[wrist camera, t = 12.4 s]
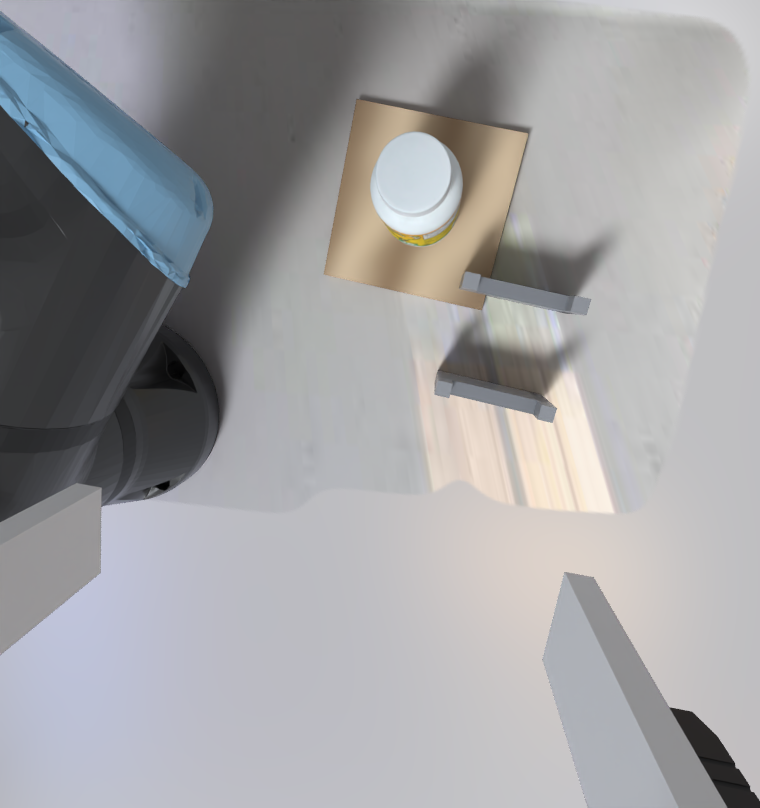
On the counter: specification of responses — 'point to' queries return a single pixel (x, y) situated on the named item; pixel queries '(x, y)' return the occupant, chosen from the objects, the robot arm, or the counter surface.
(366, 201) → the square wooden board
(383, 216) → the supplement bottle
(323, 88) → the counter surface
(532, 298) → the holder
